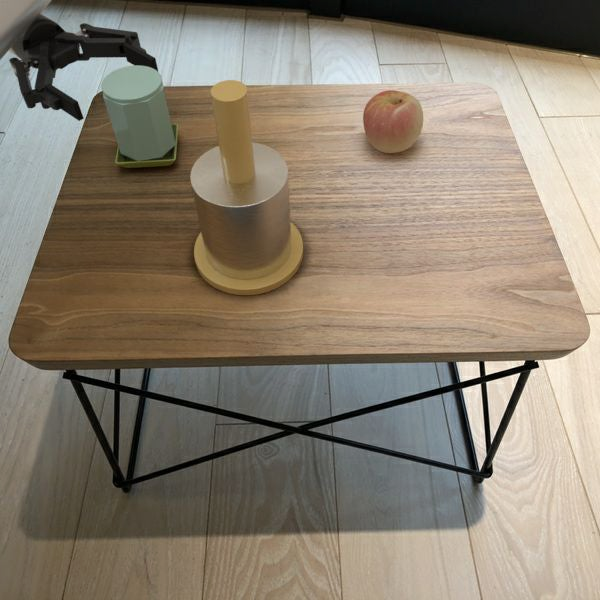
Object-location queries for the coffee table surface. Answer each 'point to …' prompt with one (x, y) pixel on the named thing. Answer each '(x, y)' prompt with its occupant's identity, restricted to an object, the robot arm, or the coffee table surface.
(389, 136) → the apple
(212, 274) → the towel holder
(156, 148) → the jar
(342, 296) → the coffee table surface
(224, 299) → the coffee table surface
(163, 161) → the saucer
